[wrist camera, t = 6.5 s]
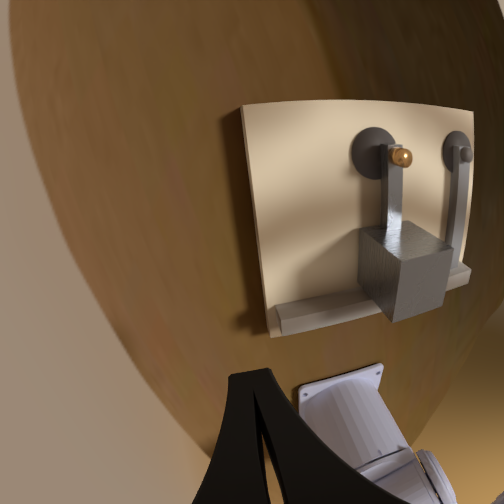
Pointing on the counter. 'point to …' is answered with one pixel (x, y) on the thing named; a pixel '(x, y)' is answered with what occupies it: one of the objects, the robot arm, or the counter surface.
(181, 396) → the counter surface
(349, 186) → the bolt board
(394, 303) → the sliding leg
